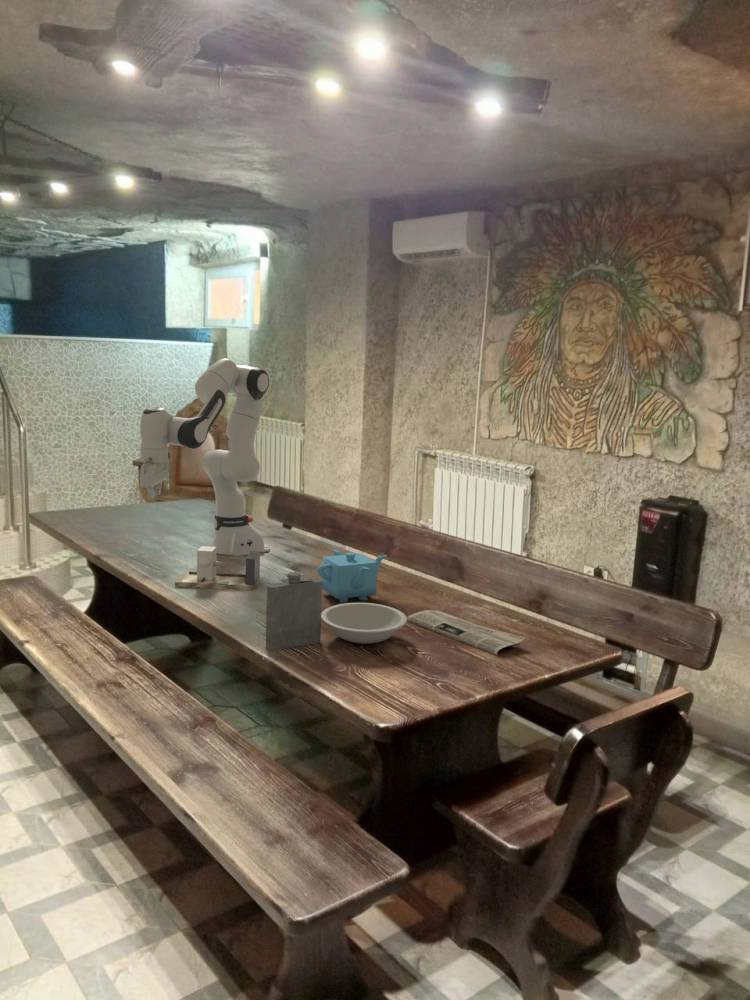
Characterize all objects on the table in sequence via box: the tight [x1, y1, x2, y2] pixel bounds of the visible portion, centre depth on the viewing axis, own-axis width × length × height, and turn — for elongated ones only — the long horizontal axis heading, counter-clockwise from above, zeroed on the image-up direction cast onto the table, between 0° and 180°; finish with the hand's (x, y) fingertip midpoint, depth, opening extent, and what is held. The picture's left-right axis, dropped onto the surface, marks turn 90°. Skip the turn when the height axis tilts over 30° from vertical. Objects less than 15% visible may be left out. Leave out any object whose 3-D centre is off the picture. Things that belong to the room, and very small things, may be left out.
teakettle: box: [316, 548, 388, 604], centre depth 253 cm, size 19×19×15 cm
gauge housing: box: [196, 545, 222, 582], centre depth 260 cm, size 7×9×10 cm
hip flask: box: [265, 571, 323, 652], centre depth 210 cm, size 16×4×20 cm, turn 121°
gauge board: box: [174, 571, 261, 592], centre depth 262 cm, size 26×12×2 cm, turn 89°
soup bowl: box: [321, 602, 408, 644], centre depth 218 cm, size 24×24×7 cm
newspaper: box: [406, 609, 526, 656], centre depth 226 cm, size 35×12×4 cm, turn 44°
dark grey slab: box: [245, 551, 261, 585], centre depth 261 cm, size 3×10×9 cm, turn 179°
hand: (154, 496), depth 264 cm, fingers open, 5 cm apart
